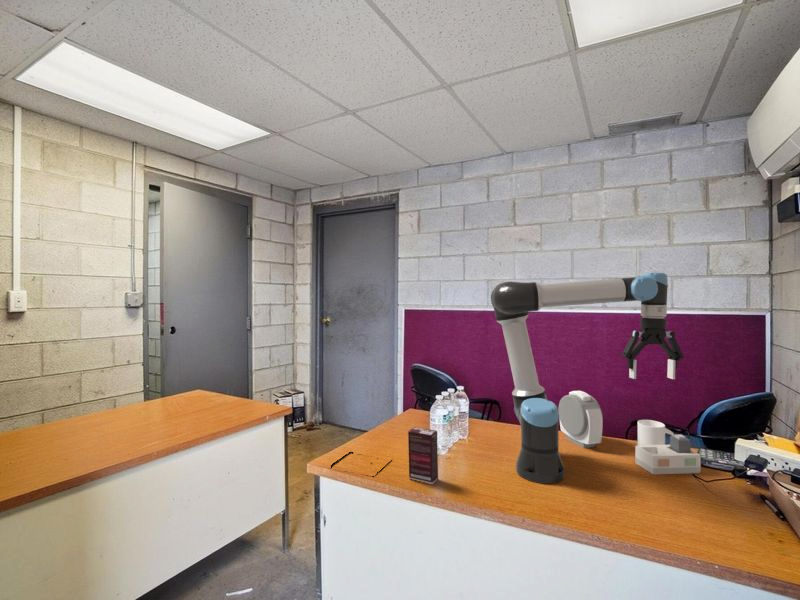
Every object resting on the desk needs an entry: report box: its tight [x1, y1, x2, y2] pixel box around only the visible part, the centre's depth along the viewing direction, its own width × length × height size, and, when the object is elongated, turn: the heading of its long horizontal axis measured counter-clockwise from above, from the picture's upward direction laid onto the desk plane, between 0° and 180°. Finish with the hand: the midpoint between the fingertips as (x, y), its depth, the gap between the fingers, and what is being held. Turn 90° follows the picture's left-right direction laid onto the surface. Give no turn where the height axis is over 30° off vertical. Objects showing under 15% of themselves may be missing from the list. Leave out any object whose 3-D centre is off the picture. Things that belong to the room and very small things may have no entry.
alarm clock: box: [558, 390, 604, 449], centre depth 156 cm, size 18×8×20 cm, turn 14°
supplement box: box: [407, 426, 439, 485], centre depth 127 cm, size 9×5×16 cm, turn 61°
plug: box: [669, 434, 692, 453], centre depth 133 cm, size 4×4×9 cm
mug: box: [637, 419, 676, 445], centre depth 145 cm, size 9×12×11 cm
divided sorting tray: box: [634, 444, 702, 475], centre depth 132 cm, size 16×9×6 cm, turn 92°
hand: (651, 378), depth 136 cm, fingers open, 13 cm apart
